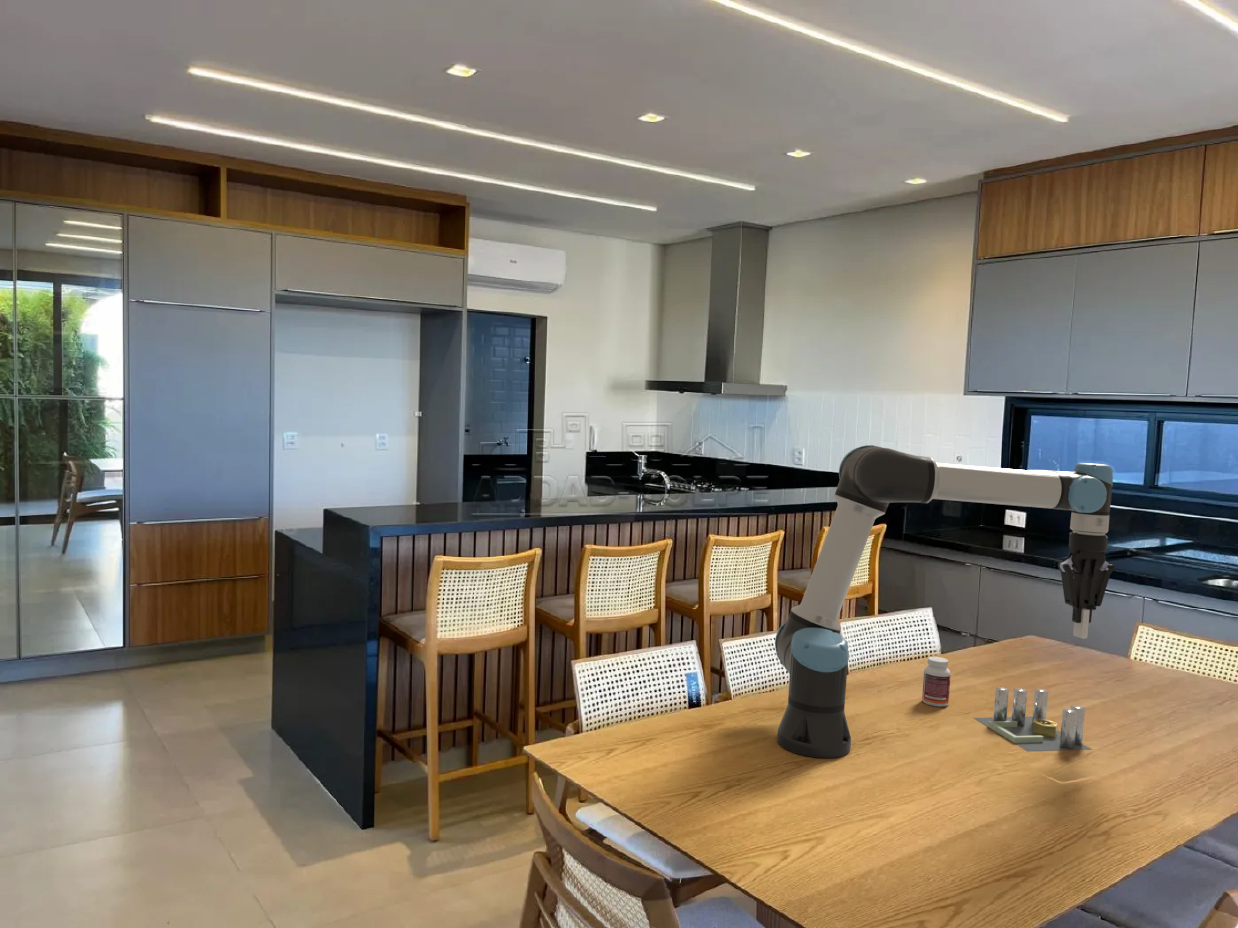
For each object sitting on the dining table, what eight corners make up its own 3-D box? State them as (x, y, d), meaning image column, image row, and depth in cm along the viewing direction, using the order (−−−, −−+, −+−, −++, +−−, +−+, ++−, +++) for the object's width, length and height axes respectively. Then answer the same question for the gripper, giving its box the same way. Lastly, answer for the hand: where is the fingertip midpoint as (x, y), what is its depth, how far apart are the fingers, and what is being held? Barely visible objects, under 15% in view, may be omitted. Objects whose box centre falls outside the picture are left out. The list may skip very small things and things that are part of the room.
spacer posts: (1040, 750, 188) (1043, 713, 188) (990, 720, 206) (993, 686, 205) (1091, 749, 191) (1094, 712, 190) (1037, 719, 208) (1040, 686, 207)
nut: (1047, 738, 196) (1048, 727, 195) (1027, 730, 200) (1028, 719, 200) (1062, 736, 198) (1063, 725, 197) (1041, 728, 202) (1042, 717, 202)
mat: (1027, 752, 188) (1027, 750, 188) (973, 719, 207) (973, 717, 207) (1092, 751, 190) (1092, 749, 190) (1032, 718, 210) (1032, 716, 210)
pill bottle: (953, 707, 215) (956, 662, 215) (929, 707, 214) (932, 662, 214) (940, 699, 221) (943, 655, 221) (917, 698, 221) (920, 655, 220)
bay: (1014, 742, 192) (1014, 737, 192) (987, 726, 202) (987, 721, 202) (1043, 741, 193) (1043, 736, 193) (1015, 725, 203) (1015, 720, 203)
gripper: (1074, 534, 192) (1065, 641, 194) (1127, 535, 195) (1117, 641, 196) (1051, 529, 200) (1043, 632, 201) (1102, 530, 202) (1093, 632, 204)
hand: (1080, 636), depth 199 cm, fingers closed
